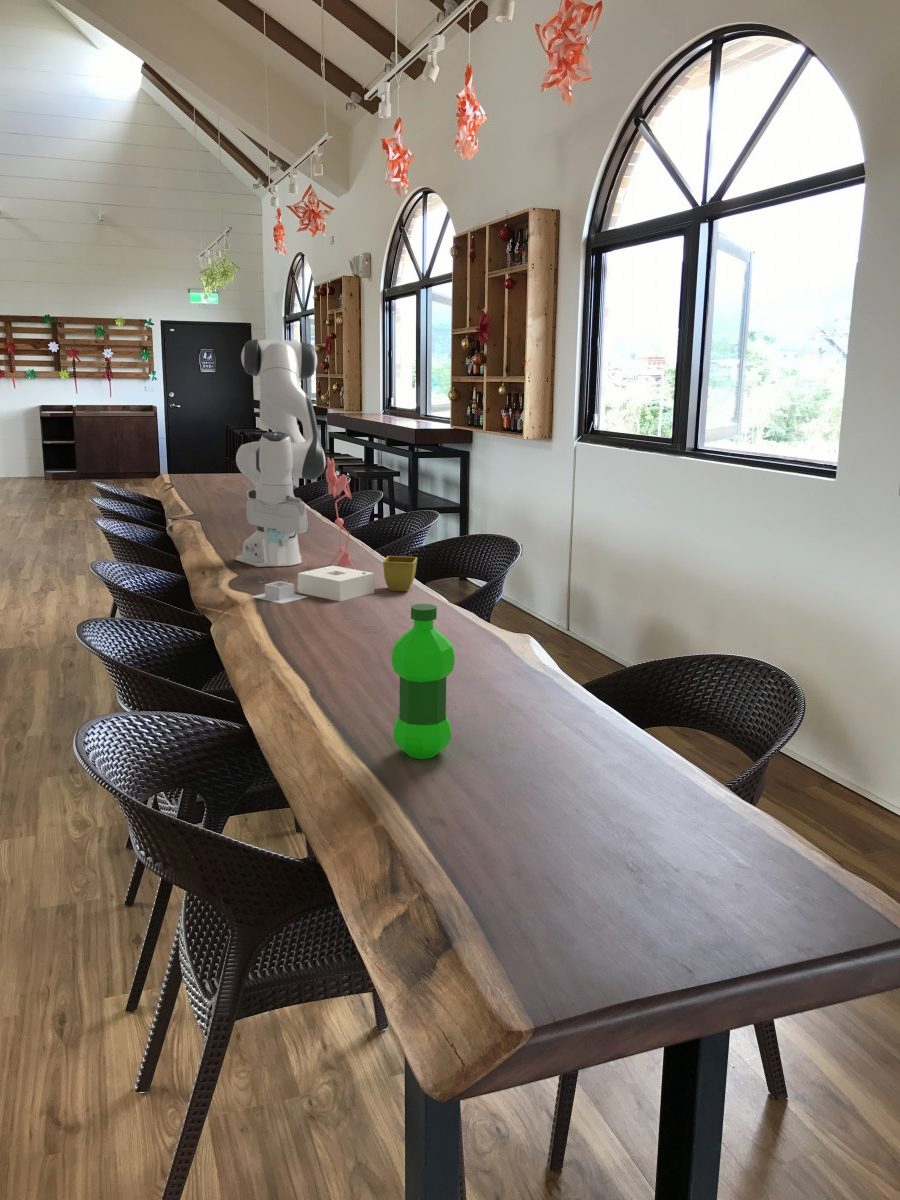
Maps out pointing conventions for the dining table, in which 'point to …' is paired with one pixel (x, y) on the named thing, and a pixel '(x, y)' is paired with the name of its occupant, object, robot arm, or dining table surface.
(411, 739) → the plastic bottle
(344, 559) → the figurine
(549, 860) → the dining table surface
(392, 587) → the flower pot
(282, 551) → the plug
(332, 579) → the port
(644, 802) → the dining table surface
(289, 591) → the holster
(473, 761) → the dining table surface
